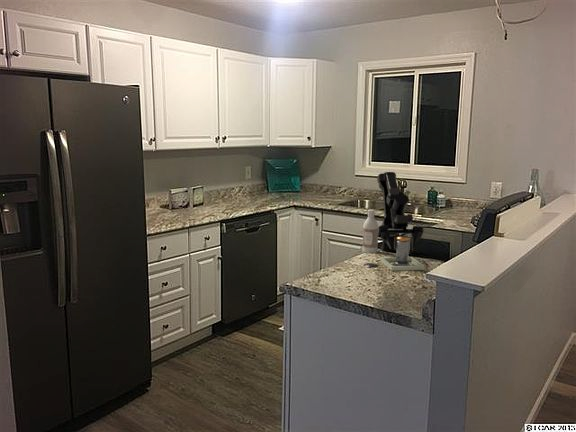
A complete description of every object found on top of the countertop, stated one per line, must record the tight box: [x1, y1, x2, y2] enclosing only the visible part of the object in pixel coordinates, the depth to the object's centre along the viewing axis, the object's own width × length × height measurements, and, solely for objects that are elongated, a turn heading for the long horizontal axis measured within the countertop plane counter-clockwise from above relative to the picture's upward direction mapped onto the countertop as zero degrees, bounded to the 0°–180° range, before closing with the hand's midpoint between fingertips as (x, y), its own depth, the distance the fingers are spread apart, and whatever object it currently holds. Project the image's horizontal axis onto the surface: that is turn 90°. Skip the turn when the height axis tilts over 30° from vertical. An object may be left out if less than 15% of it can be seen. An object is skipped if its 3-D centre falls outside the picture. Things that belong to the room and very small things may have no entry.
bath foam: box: [362, 209, 379, 254], centre depth 217 cm, size 7×7×20 cm
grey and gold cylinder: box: [394, 235, 411, 266], centre depth 192 cm, size 6×6×12 cm
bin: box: [380, 256, 425, 271], centre depth 193 cm, size 14×14×2 cm
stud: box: [363, 262, 379, 269], centre depth 193 cm, size 6×6×1 cm
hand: (402, 248), depth 193 cm, fingers open, 9 cm apart
